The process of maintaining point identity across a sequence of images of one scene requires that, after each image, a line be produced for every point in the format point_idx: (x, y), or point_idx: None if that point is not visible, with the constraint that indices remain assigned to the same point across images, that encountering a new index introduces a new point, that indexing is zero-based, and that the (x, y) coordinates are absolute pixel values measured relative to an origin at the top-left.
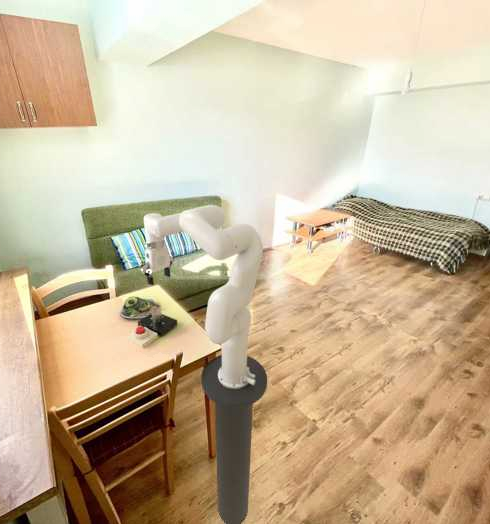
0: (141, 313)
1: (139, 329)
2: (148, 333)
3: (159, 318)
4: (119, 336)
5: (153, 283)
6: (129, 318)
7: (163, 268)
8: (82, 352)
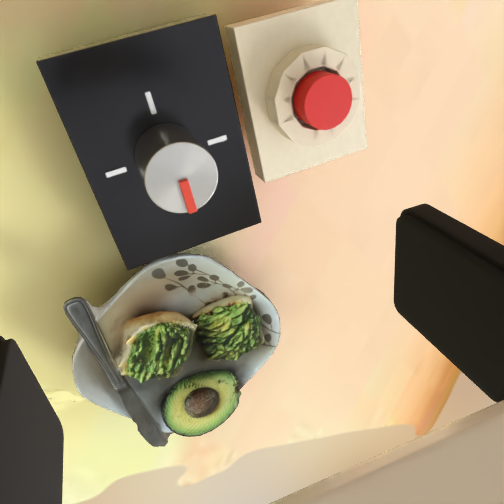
0: (183, 305)
1: (335, 99)
2: (281, 64)
3: (170, 131)
4: (326, 212)
5: (422, 217)
6: (258, 289)
7: (333, 490)
8: (458, 202)
